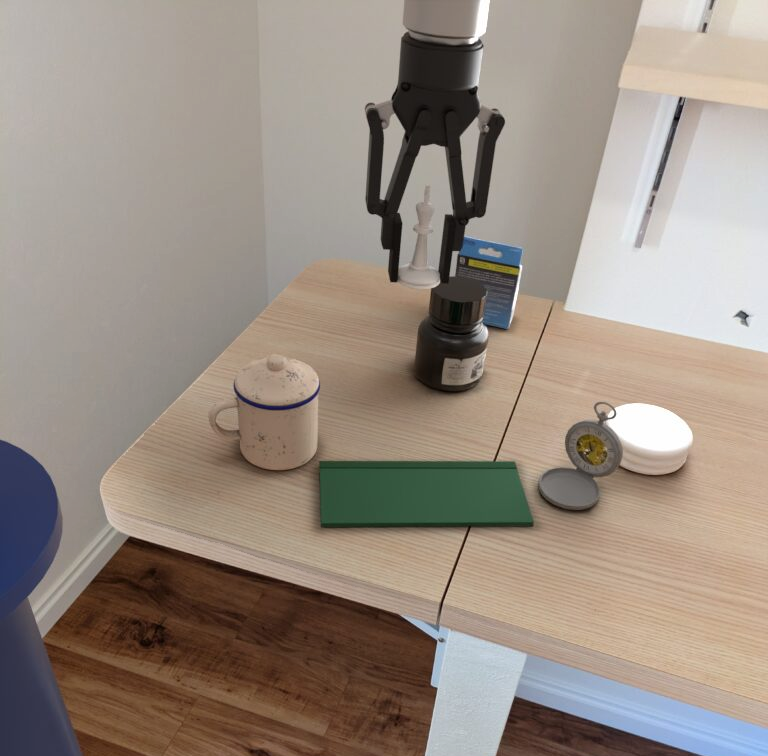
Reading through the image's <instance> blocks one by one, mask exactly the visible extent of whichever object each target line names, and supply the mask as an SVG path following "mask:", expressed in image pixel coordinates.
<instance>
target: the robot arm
mask: <svg viewBox="0 0 768 756" xmlns="http://www.w3.org/2000/svg"><path fill="white" fill-rule="evenodd" d="M490 1H491V0H404V2H403V13H402V26H403V27H404V28H405V30H407V31H406V32H405V33H404V34H403V35H402V36H401V38H400V49H399V50H400V51H399V62H398V78H397V84H396V87H395V90H394V91H393V93H392V95H391V99H389V100H386V101H383V102H380V103H377V104H375V103H374V102H368V103H366V105H365V106H364V113H365V118H366V121H367V125H368V128H369V133H368V150H367V153H368V154H367V166H366V167H367V168H366V184H365V196H364V197H365V199H364V201H365V205H366V210H367V213H369V215H376V216H378V217H380V218H381V226H380V243H381V247H382V250H383V251H384V250H385V251H386V250H387V251H388V250H389V253H388V263H387V265H388V266H387V268H388V269H387V273H388V278H389V282H390V283H398V282H397V281H398V269H399V267H400V258H401V257H400V256H401V244H402V235H403V234H402V233H403V220H402V217H401V213H400V212H399V210H400V206H401V204H402V200H403V197H404V195H405V191H406V188H407V186H408V182H409V180H410V177H411V174H412V170H413V167H414V165H415V162H416V158H417V157H418V156H419V154H420V151H421V147H427V146H431V145H436V146H439V147H442V148H443V147H444V152H445V159H446V168H447V175H448V184H449V191H450V201H451V208H452V213H451V214H450V213H449V214H448V213H447V214H446V213H445V214H444V220H443V228H442V236H441V244H440V252H439V261H438V269H437V271H438V272H439V273H440V280H441V283H446V284H448V283H449V277H451V276H450V274H451V266H452V260H453V252H459V251H461V249H462V247H463V241H464V236H465V233H466V226H467V225H468V224H469V223H470V220H471V219H475V218H479V219H480V218H483V217H484V216H485V215H486V212H487V206H488V198H489V193H490V186H491V178H492V172H493V164H494V159H495V152H496V146H497V145H496V144H497V142H498V139H499V137H500V136H501V133H502V131H503V129H504V126H505V125H506V119H505V117H504V116H503V115H502V113H501V111H500V110H499V109H498V108H489V107H487V106H484V105H482V104H481V99H480V97H479V84H480V76H481V69H482V61H483V53H484V44H483V41H482V39H481V38H480V37H482V36H483V35H485V33H486V32H487V26H488V25H487V24H488V17H489V8H490ZM393 115H395V116H396V118H397V120H398V121H399V123H400V125H401V126H402V128H403V130H404V134H403V137H402V140H401V146H400V149H399V152H398V155H397V159H396V162H395V165H394V168H393V171H392V175H391V178H390V180H389V183H388V187H387V189H386V193H385V195H384V199H382V198H381V189H382V176H383V175H382V174H383V163H384V162H383V161H384V147H385V133H384V130H387V128H389V126H390V121H391V117H392V116H393ZM476 119H477V125H476V126H477V129H478V130H479V135H478V139H477V141H478V142H477V147H476V148H477V149H476V155H475V156H476V157H475V162H474V163H475V165H474V171H473V178H472V187H471V193H470V200H469V201H467V195H466V188H465V178H464V170H463V168H464V167H463V160H462V146H461V144H462V143H461V136H462V135H463V134H464V133H465V132H466V131H467V129H468V128H469V127H470V125H471V124H473V122H474V121H475V120H476Z"/></svg>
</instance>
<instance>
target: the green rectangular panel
mask: <svg viewBox="0 0 768 756" xmlns="http://www.w3.org/2000/svg"><path fill="white" fill-rule="evenodd" d="M318 467H319V468H318V470H319V471H318V472H319V473H318V474H319V505H320V506H319V507H320V509H319V510H320V527H321V528H418V527H419V528H422V527H423V528H426V527H427V528H430V527H433V528H435V527H436V528H437V527H438V528H439V527H440V528H442V527H444V528H445V527H449V528H450V527H451V528H452V527H533V526H534V523H535V521H534V518H533V515H532V512H531V511H532V510H531V508H530V506H529V503H528V499H527V496H526V493H525V489H524V487H523V483H522V480H521V477H520V474H519V471H518V467H517V464H516V461H513V460H512V461H509V460H508V461H507V460H506V461H505V460H504V461H503V460H502V461H499V460H497V461H495V460H494V461H493V460H490V461H489V460H488V461H487V460H485V461H484V460H483V461H482V460H480V461H477V460H476V461H474V460H472V461H471V460H467V461H466V460H464V461H463V460H462V461H461V460H459V461H457V460H445V461H444V460H441V461H440V460H319V463H318Z"/></svg>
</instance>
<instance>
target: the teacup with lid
mask: <svg viewBox="0 0 768 756" xmlns="http://www.w3.org/2000/svg"><path fill="white" fill-rule="evenodd" d="M320 390H321V381H320V378H319V376H318V374H317V373H316V371H315V370H314V369H313V368H312V367H311V366H310V365H308V364H306V363H305V362H303V361H301V360H298V359H294V358H289V357H285V356H284V355H283V354H279V353H273V354H271V355H269V356H267V357H263V358H260V359H256V360H253V361H250V362H249V363H247V364H245V365H244V366H242V367H241V368H240V369H239V371H237V373H236V375H235V377H234V380H233V391H234V393H235V396H236V397H228V398H224V399H221V400H218V401H216V402H215V403H214V404H213V405H212V406H211V407H210V409H209V411H208V423H209V425H210V428H211V429H212V431H213V432H214V433H215V435H217V436H218V437H220V438H221V439H224V440H229V441H232V440H233V441H235V440H237V441H238V440H239V447H240V452H241V454H242V456H243V457H244V458H245V460H246V461H248V462H249V463H250V464H252V465H254V466H255V467H258V468H261V469H265V470H270V471H287V470H292V469H295V468H299V467H301V466H303V465H305V464H307V463H308V462H310V460H312V458H313V457H314V456H315V455H316V453H317V450H318V438H319V437H318V435H319V433H318V431H319V429H318V428H319V416H318V415H319V392H320ZM235 408H236V409H237V421H238V429H231V430H230V429H225V428H223V427H221V426H220V425H219V424H218V423H217V417H218V415H219V414H220V413H221V412H222V411H225V410H227V409H228V410H229V409H235Z"/></svg>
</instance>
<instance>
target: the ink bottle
mask: <svg viewBox="0 0 768 756" xmlns="http://www.w3.org/2000/svg"><path fill="white" fill-rule="evenodd" d="M486 297H487V289H486V288H485V286H484V285H483V284H481V283H479V282H478V281H476V280H473V279H470V278H467V277H459V276H455V275H454V276H452V275H451V276H449V283H448V284H446V283H441V280H440V283H439V285H437V286H436V287H434V288H430V296H429V303H428V315H427V316H425V317H424V318H423V319H422V320H421V322H419V325H418V328H417V334H416V336H417V337H416V344H415V345H416V346H415V354H414V365H413V372H414V374H415V376H416V377H417V378H418V379H419V380H420V381H421V382H422V383H423V384H425V385H427V386H429V387H431V388H435V389H437V390H441V391H446V392H459V391H460V392H461V391H466V390H468V389H471V388H473V387H474V386H476V385H477V384H478V383H479V382H480V381H481V379H482V377H483V374H484V367H485V362H486V355H487V351H488V343H489V336H490V335H489V329H488V327H487V325H486V324H484V323H483V322H482V320H483V316H484V310H485V304H486Z"/></svg>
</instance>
